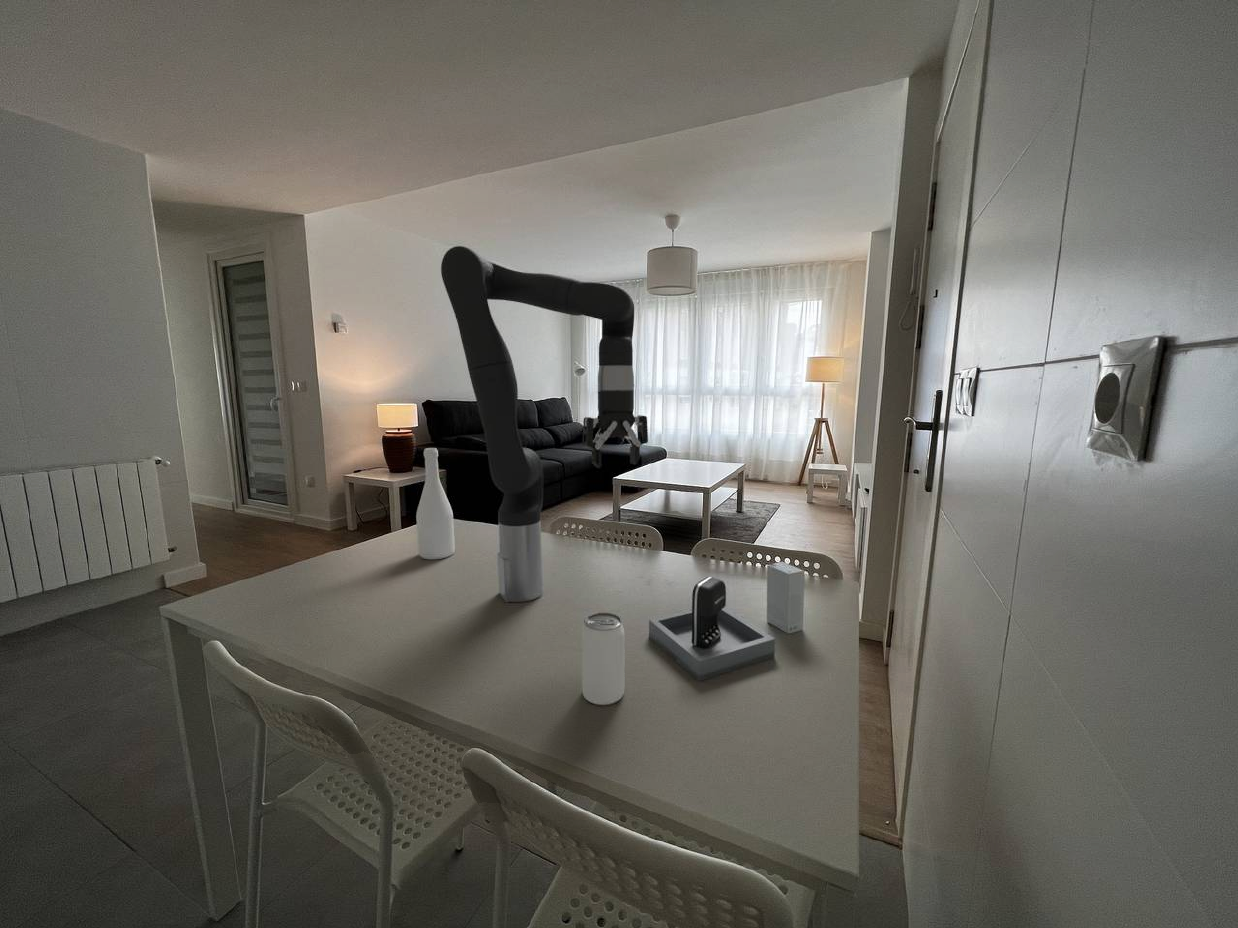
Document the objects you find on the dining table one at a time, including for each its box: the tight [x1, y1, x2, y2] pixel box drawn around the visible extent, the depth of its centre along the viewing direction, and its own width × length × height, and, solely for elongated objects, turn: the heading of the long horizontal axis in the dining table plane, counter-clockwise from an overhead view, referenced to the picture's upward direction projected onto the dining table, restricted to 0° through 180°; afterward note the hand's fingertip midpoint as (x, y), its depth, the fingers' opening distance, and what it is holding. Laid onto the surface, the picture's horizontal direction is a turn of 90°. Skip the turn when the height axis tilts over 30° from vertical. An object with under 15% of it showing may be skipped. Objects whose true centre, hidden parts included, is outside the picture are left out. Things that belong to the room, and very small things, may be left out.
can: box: [581, 612, 625, 707], centre depth 76 cm, size 6×6×12 cm
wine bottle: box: [415, 447, 456, 560], centre depth 138 cm, size 10×10×30 cm
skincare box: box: [766, 561, 805, 634], centre depth 98 cm, size 6×4×12 cm
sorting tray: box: [648, 606, 776, 682], centre depth 90 cm, size 16×16×4 cm
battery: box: [691, 576, 727, 648], centre depth 90 cm, size 7×4×11 cm, turn 142°
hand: (616, 465), depth 106 cm, fingers open, 8 cm apart
